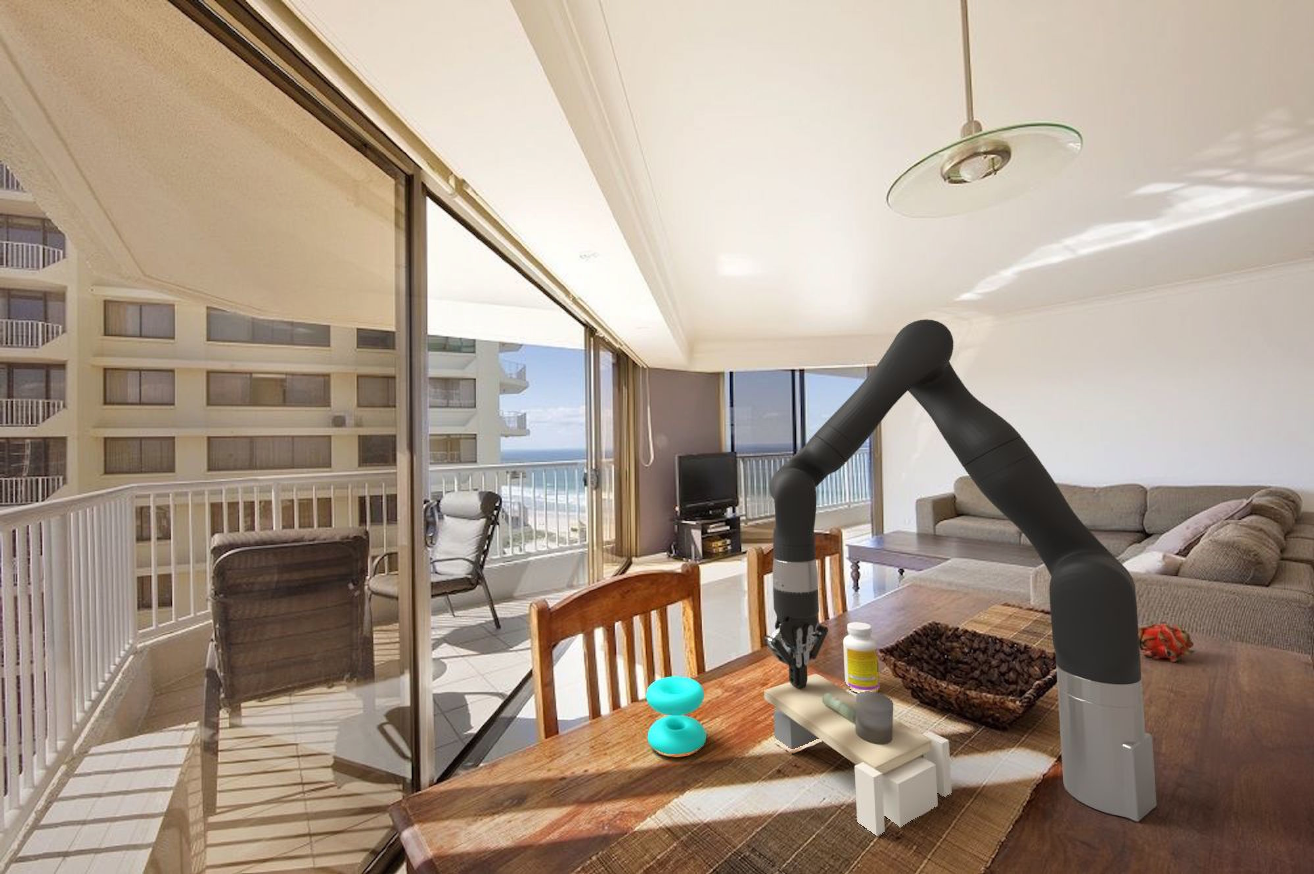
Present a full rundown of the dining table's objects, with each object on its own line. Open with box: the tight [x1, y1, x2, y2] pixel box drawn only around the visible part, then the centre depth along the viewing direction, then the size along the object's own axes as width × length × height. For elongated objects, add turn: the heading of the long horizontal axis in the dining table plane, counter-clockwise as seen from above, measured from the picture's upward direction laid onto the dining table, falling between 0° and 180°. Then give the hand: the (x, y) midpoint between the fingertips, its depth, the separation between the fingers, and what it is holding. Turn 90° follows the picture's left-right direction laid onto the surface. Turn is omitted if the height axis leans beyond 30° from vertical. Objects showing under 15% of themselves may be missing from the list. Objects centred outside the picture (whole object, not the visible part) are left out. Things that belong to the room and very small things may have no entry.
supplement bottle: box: [842, 621, 880, 690], centre depth 110 cm, size 7×7×13 cm
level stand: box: [773, 708, 953, 837], centre depth 82 cm, size 24×16×8 cm, turn 29°
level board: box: [763, 673, 931, 774], centre depth 83 cm, size 22×12×6 cm, turn 29°
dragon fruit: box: [1138, 621, 1195, 663], centre depth 119 cm, size 8×8×12 cm
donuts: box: [645, 676, 707, 754], centre depth 91 cm, size 10×10×10 cm
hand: (798, 686), depth 91 cm, fingers closed
